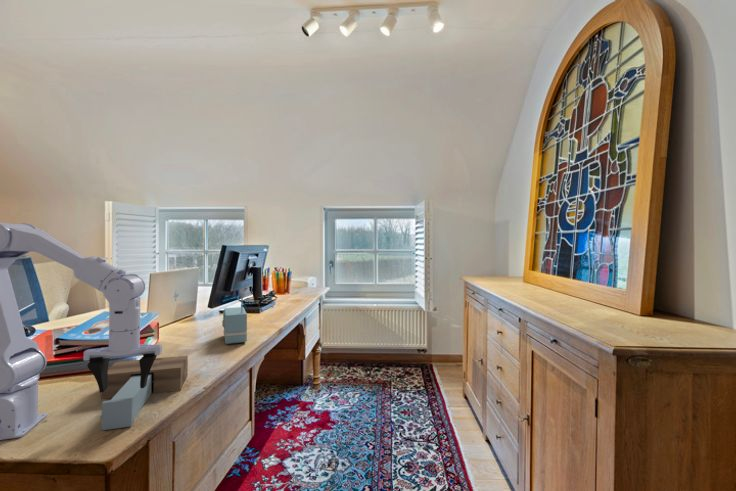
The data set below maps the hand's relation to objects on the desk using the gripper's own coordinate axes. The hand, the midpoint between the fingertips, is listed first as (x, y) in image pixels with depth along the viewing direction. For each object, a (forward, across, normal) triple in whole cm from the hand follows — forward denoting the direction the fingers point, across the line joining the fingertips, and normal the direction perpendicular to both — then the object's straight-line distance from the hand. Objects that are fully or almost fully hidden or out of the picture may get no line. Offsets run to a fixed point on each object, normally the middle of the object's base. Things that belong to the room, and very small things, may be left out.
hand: (123, 388), depth 77 cm
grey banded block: (+7, -20, -60) cm, 63 cm away
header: (+7, 0, -18) cm, 19 cm away
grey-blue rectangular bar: (+7, 0, -4) cm, 8 cm away
